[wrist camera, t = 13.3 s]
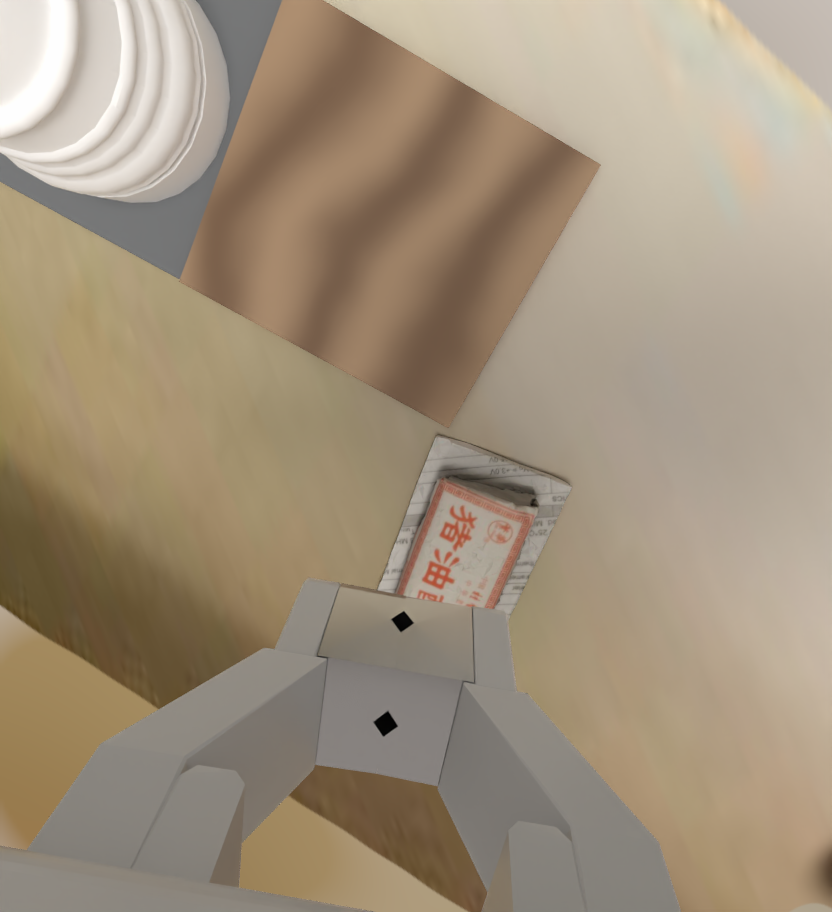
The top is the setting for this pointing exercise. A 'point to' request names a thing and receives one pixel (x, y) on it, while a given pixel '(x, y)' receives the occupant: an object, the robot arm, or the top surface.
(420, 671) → the robot arm
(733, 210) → the top surface
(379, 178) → the cutting board
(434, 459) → the packaged product
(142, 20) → the honey pot
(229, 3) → the trivet mat
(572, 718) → the top surface
